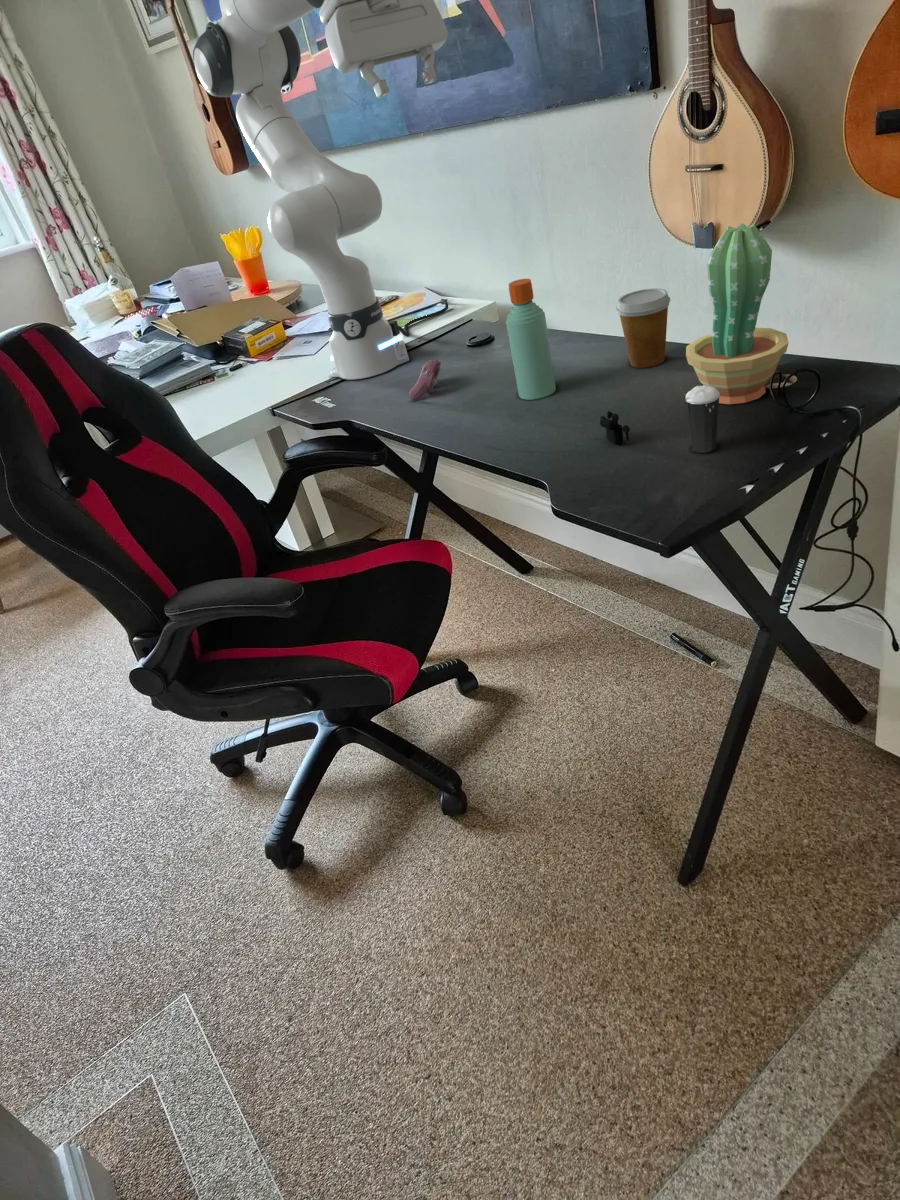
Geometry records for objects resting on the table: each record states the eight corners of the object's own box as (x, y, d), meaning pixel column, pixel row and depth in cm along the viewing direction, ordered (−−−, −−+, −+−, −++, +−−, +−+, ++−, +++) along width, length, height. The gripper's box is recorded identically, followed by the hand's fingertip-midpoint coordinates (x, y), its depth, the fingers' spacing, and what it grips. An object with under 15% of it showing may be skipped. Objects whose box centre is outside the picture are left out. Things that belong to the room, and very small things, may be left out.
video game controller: (428, 407, 156) (436, 374, 151) (407, 400, 156) (414, 367, 151) (438, 388, 163) (446, 357, 159) (418, 381, 163) (425, 350, 159)
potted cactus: (809, 384, 123) (817, 213, 109) (739, 420, 118) (738, 246, 104) (733, 368, 134) (731, 212, 121) (666, 400, 129) (656, 241, 116)
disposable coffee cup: (680, 351, 146) (677, 286, 140) (663, 371, 140) (658, 303, 134) (632, 352, 151) (627, 289, 145) (613, 371, 145) (607, 306, 139)
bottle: (513, 392, 148) (494, 287, 137) (547, 381, 149) (531, 276, 138) (526, 403, 142) (508, 294, 131) (561, 391, 143) (546, 282, 132)
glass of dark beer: (678, 447, 115) (674, 382, 109) (714, 438, 115) (712, 373, 109) (688, 459, 111) (685, 393, 106) (725, 450, 111) (724, 383, 105)
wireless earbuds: (633, 446, 118) (630, 415, 116) (620, 452, 118) (617, 421, 115) (605, 435, 124) (602, 405, 121) (593, 440, 123) (589, 410, 120)
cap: (508, 301, 137) (505, 283, 136) (528, 295, 138) (525, 277, 136) (516, 305, 134) (513, 287, 132) (536, 299, 135) (534, 280, 133)
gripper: (416, -7, 126) (449, 84, 131) (309, 15, 118) (347, 112, 122) (434, -31, 121) (468, 64, 125) (323, -9, 113) (363, 92, 117)
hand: (407, 88), depth 124 cm, fingers open, 8 cm apart
